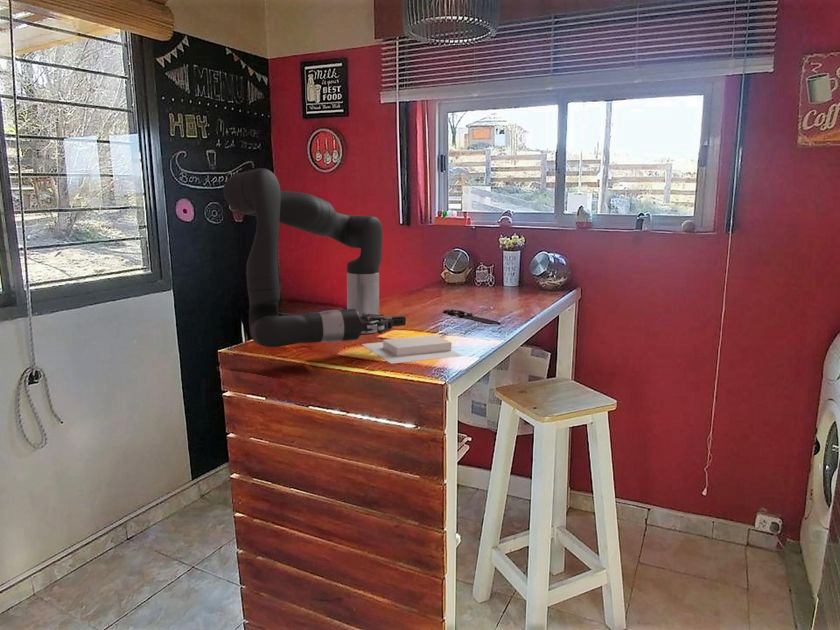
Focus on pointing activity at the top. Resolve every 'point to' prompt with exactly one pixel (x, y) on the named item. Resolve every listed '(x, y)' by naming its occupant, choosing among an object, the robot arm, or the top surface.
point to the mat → (392, 358)
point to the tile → (416, 345)
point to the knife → (468, 316)
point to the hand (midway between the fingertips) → (404, 320)
